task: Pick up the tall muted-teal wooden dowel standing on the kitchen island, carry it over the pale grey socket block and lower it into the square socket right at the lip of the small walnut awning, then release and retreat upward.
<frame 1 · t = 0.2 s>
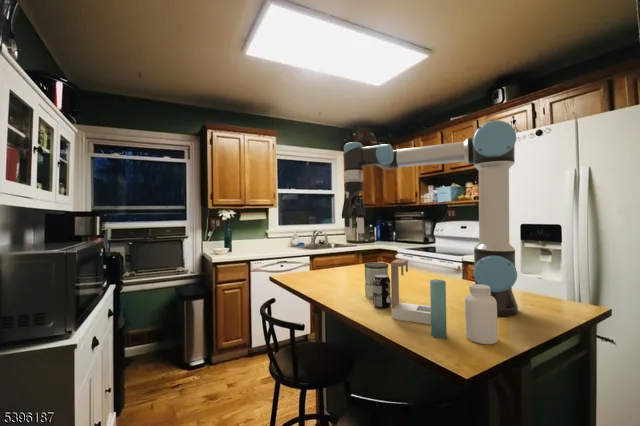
hand: (354, 234, 122), 28 cm above the table, fingers open, 13 cm apart
peg: (438, 335, 88), on the table
coffee can: (377, 296, 132), on the table
station: (415, 317, 104), on the table
pill bottle: (481, 339, 85), on the table
beverage can: (381, 306, 117), on the table
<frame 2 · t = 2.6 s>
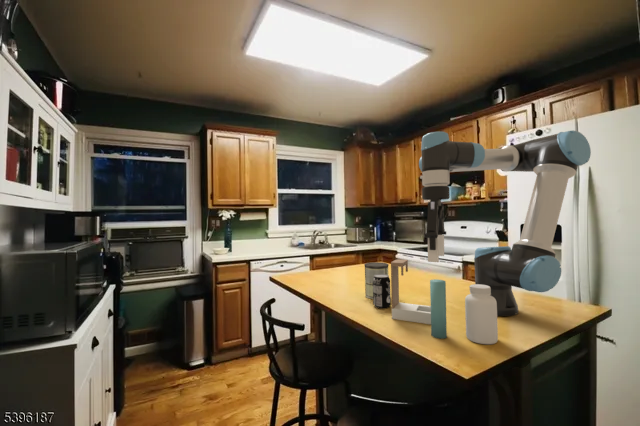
hand: (436, 258, 89), 22 cm above the table, fingers open, 13 cm apart
nothing on the table moved.
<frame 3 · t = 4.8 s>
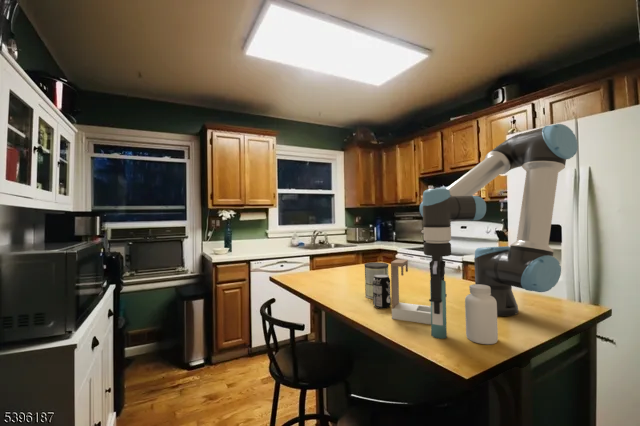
hand: (438, 321, 88), 4 cm above the table, fingers closed on peg, 4 cm apart
peg: (438, 335, 88), on the table, touching gripper
everything else where it was.
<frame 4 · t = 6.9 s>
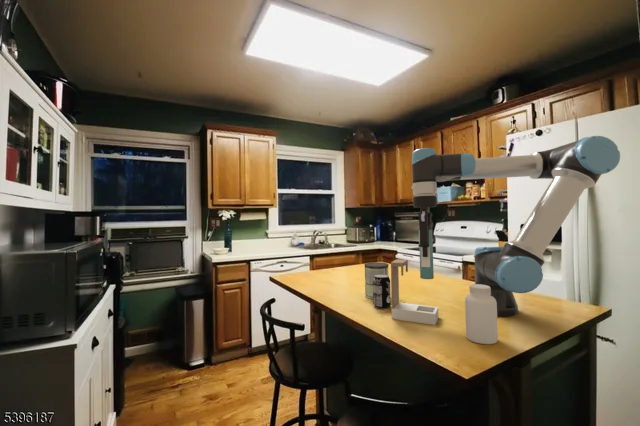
hand: (426, 265, 101), 18 cm above the table, fingers closed on peg, 4 cm apart
peg: (427, 277, 101), point 14 cm above the table, touching gripper
everything else where it was.
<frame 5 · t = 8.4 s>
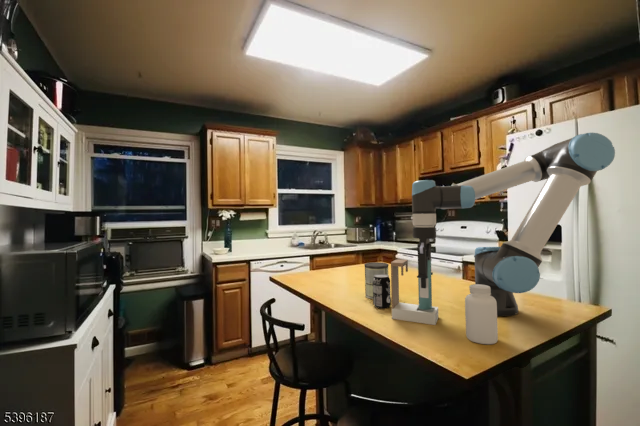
hand: (425, 295, 102), 8 cm above the table, fingers closed on peg, 4 cm apart
peg: (425, 307, 102), point 4 cm above the table, touching gripper
everything else where it was.
when the fingers open (5 cm above the table, at t = 9.3 s): peg stays where it is, resting on station.
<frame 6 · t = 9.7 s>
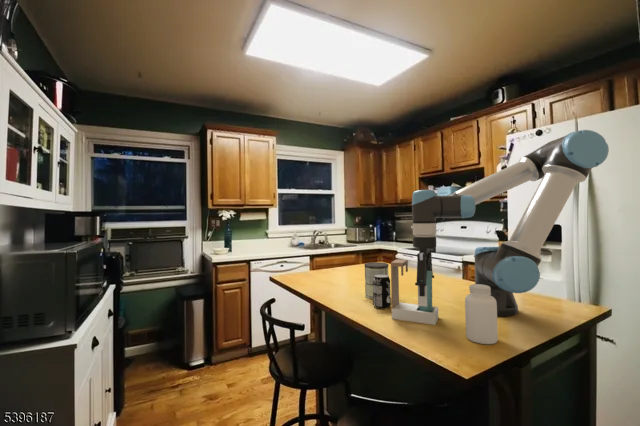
hand: (425, 301, 102), 6 cm above the table, fingers open, 11 cm apart
peg: (425, 318, 102), resting on station
everything else where it was.
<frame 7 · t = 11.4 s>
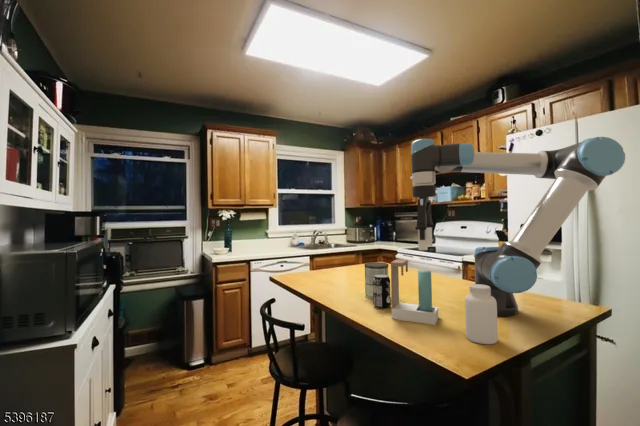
hand: (425, 247, 103), 24 cm above the table, fingers open, 13 cm apart
nothing on the table moved.
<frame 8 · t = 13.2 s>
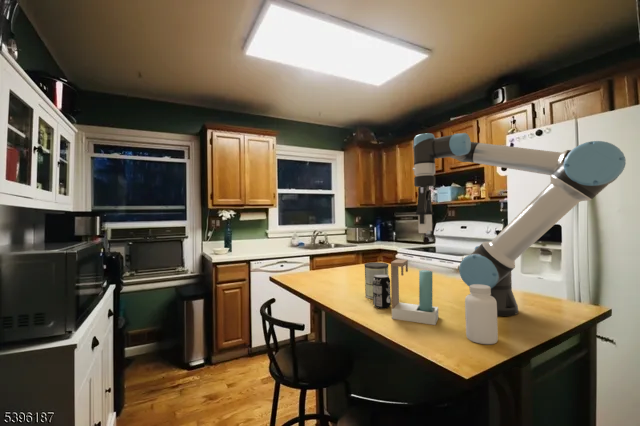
hand: (425, 232, 114), 29 cm above the table, fingers open, 13 cm apart
nothing on the table moved.
at the end: peg 0.1 cm from the target spot on the station, point 0.2 cm above the station's base; peg tilted 1°; the gripper is holding nothing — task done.
